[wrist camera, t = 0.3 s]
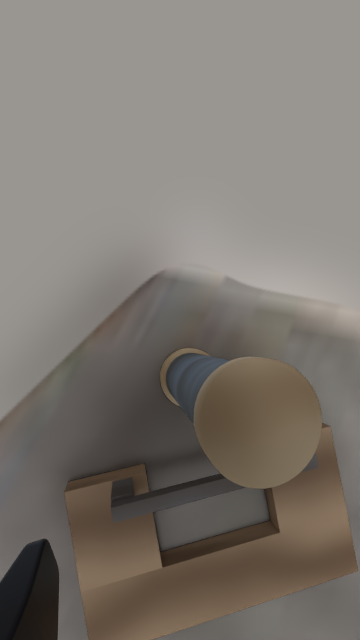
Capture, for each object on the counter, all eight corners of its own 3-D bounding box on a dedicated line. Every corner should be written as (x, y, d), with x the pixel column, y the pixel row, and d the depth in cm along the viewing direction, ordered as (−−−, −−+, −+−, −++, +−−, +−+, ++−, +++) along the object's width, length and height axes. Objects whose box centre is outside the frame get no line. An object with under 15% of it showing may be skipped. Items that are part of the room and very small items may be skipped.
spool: (224, 390, 23) (341, 450, 11) (174, 415, 23) (232, 513, 10) (201, 338, 23) (290, 337, 11) (150, 362, 23) (179, 392, 10)
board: (344, 556, 24) (390, 603, 20) (94, 637, 21) (86, 711, 17) (318, 420, 24) (357, 438, 20) (68, 481, 21) (53, 516, 17)
